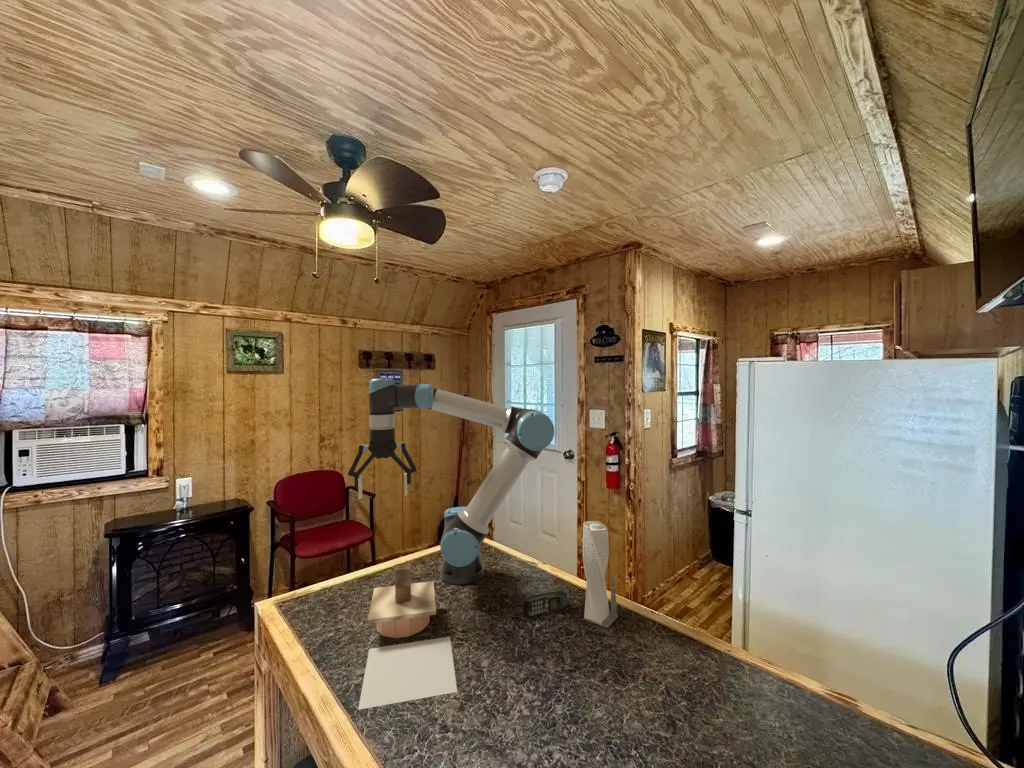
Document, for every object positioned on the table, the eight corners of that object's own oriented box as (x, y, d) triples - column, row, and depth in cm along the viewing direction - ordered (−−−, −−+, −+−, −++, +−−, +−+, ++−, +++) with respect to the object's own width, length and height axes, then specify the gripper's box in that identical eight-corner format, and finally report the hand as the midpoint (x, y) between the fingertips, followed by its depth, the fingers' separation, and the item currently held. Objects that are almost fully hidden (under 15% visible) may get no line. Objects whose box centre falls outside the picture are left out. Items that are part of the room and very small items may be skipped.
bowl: (428, 607, 124) (428, 587, 124) (430, 635, 110) (429, 612, 110) (379, 614, 120) (379, 593, 120) (374, 643, 107) (374, 620, 107)
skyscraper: (605, 630, 110) (603, 525, 110) (578, 620, 115) (576, 519, 115) (618, 616, 117) (616, 516, 117) (591, 607, 122) (590, 512, 122)
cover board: (433, 584, 125) (432, 551, 125) (435, 614, 109) (435, 576, 109) (374, 591, 122) (373, 557, 122) (367, 624, 105) (366, 584, 105)
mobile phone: (524, 602, 117) (572, 591, 122) (520, 597, 120) (567, 586, 125) (525, 620, 117) (572, 607, 122) (521, 614, 120) (568, 602, 125)
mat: (450, 638, 108) (450, 636, 108) (457, 694, 89) (457, 691, 89) (369, 651, 104) (369, 648, 104) (358, 712, 84) (358, 709, 84)
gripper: (423, 425, 136) (424, 490, 136) (341, 428, 130) (342, 496, 130) (423, 427, 129) (424, 496, 129) (337, 431, 123) (338, 502, 123)
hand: (383, 496), depth 129 cm, fingers open, 13 cm apart
